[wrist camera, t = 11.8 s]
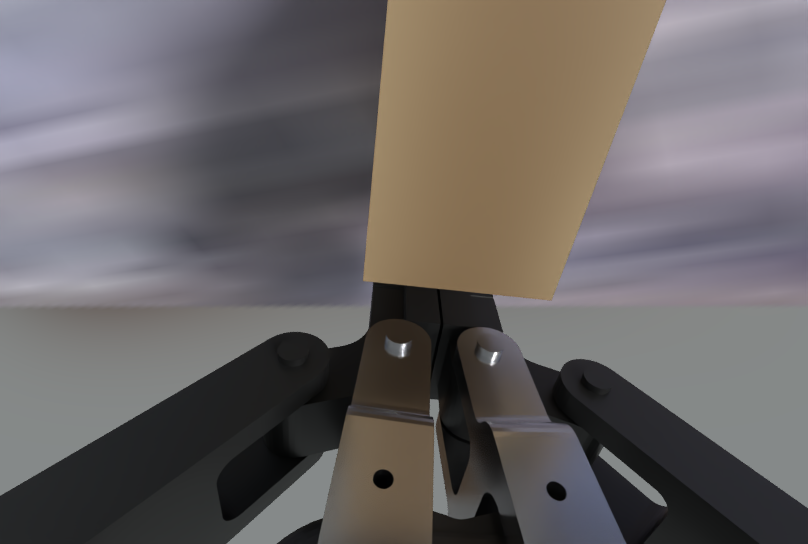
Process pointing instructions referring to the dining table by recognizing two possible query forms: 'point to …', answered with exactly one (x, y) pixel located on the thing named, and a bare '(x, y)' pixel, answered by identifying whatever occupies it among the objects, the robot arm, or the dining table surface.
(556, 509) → the robot arm
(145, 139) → the dining table surface
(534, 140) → the tray
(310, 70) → the dining table surface
